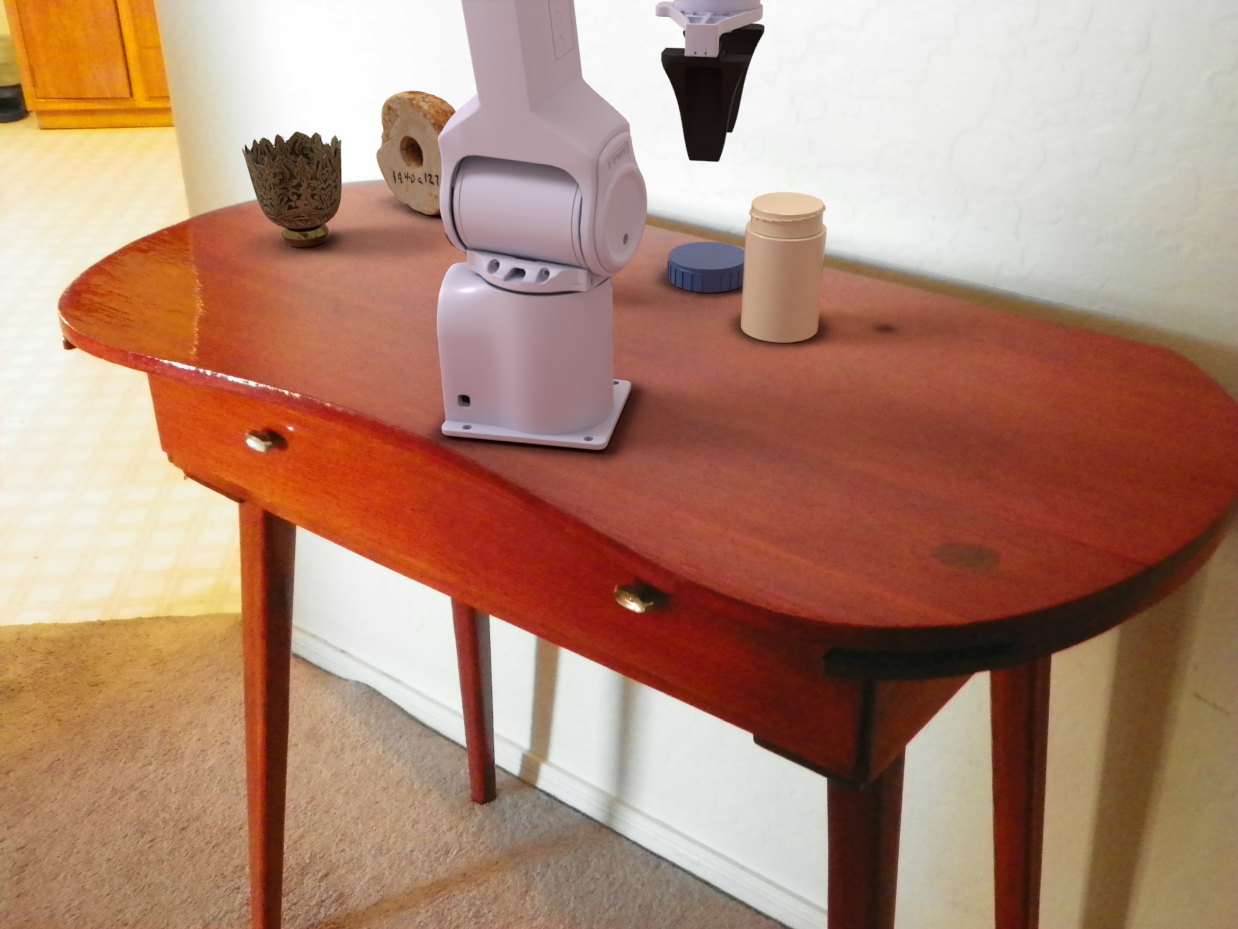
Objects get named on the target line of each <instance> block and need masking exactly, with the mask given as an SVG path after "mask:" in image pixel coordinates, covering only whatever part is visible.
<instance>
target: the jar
mask: <svg viewBox="0 0 1238 929" xmlns="http://www.w3.org/2000/svg"><path fill="white" fill-rule="evenodd" d="M750 207H751V208H749V212H748V215H749V216H750V220H748V221H747V223H746V224H745V228H744V229H745V231H744V232H745V233H744V248H743V250H744V268H743V285H742V291H741V307H740V308H741V310H740V329H741V330H742V331H743V333H745V335H747V336H749V337H751V338H754V339H756V340H759V341H763V342H770V343H778V344H781V343H782V344H784V343H786V344H787V343H796V342H797V343H798V342H803V341H805V340H808V339H811V338H813V337H814V336H815V335H816V334H817V332H819V331H818V330H819V322H820V312H821V311H820V310H821V299H822V288H823V279H824V278H823V277H824V266H825V255H826V254H825V253H826V245H827V244H826V242H827V232H828V228H827V226H826V224H824V223H823V222H824V213H825V212H826V210H827V209H826V208H827V205H826V204H825V203H824V202H823V201H822V200H821V199H820V198H818V197H816V196H813V195H810V194H805V193H801V192H791V191H790V192H789V191H783V192H782V191H781V192H778V191H777V192H770V193H763V194H761V195H758V196H756V197H754V198H753V199H752V201H751V205H750Z"/></svg>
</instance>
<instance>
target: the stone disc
mask: <svg viewBox="0 0 1238 929" xmlns="http://www.w3.org/2000/svg"><path fill="white" fill-rule="evenodd" d="M456 111H457V110H455V108H454V107H453V105H451V104H450V103H449V102H448V101H447V100H445V99H443V98H442V97H438V96H437V95H435V94H431V93H430V92H429V93H428V92H425V91H421V90H405V91H401V92H400V91H399V92H398V93H395V94H393V95H391V96H389V97H388V98H387V99H386V100H385V101H384V102H383V104H382V107H381V115H380V117H381V126H382V133H381V136H380V139H381V143H380V144H381V145H380V147H379V148H378V149H377V151H376V153H375V154H376V156H375V157H376V161H377V165H378V167H379V170H380V173H381V175H382V177H383V179H384V181H385V183H386V184H387V187H388V188H389V190H390V191H391V193H392V194H393V195H394V197H395V198H396V199H397V200H398V201H399V202H401V203H403V204H404V205H406V206H408V207H410V209H412V210H414V211H416V212H417V213H421V214H423V215H426V216H427V215H428V216H434V215H441V212H440V202H439V196H440V185H441V179H442V160H441V153H440V149H439V144H438V137H439V135H440V133H441V132H442V130H443V128H444V127H445V125H446V124H447V122H448V120H449V119H450V118H451V117H452V116H453V114H454V113H455V112H456Z"/></svg>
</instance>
